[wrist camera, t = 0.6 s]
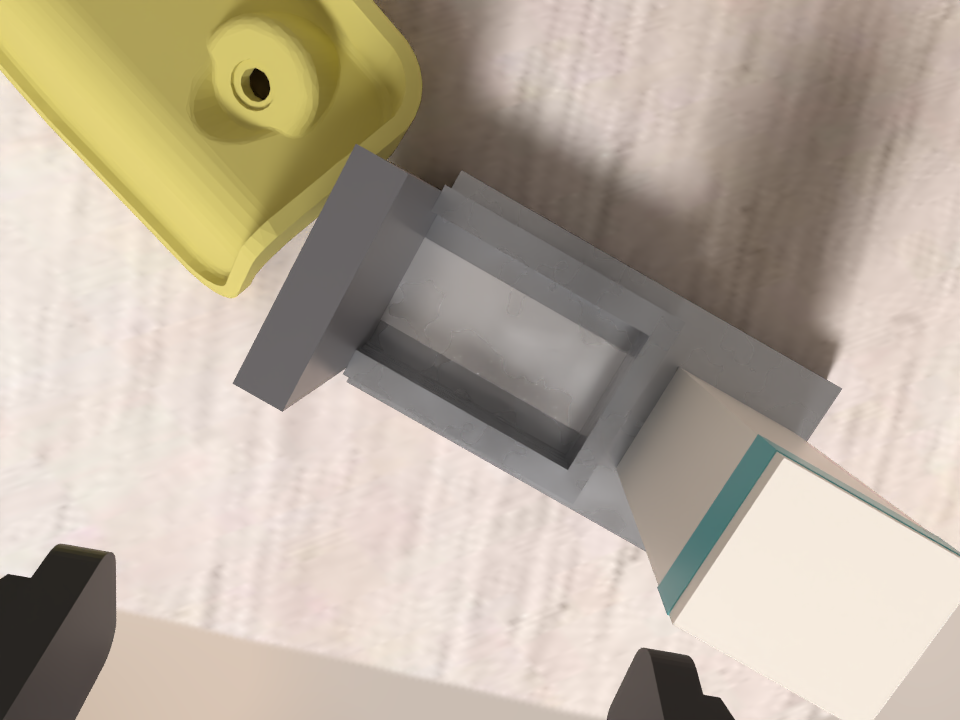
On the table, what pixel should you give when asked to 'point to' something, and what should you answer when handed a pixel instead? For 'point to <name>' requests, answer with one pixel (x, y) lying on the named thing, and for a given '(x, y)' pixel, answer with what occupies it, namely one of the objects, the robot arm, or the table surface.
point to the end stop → (340, 279)
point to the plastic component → (215, 110)
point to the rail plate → (555, 352)
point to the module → (783, 552)
